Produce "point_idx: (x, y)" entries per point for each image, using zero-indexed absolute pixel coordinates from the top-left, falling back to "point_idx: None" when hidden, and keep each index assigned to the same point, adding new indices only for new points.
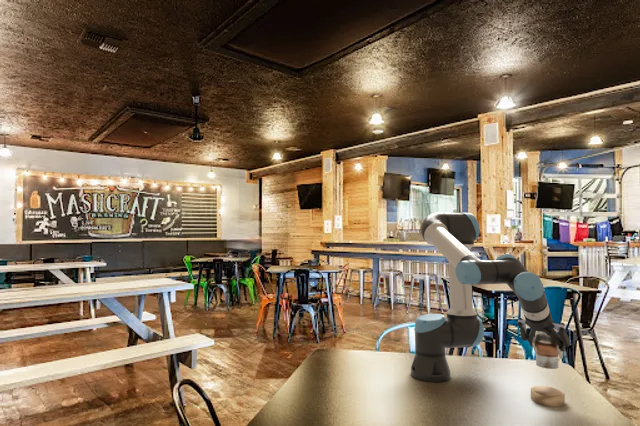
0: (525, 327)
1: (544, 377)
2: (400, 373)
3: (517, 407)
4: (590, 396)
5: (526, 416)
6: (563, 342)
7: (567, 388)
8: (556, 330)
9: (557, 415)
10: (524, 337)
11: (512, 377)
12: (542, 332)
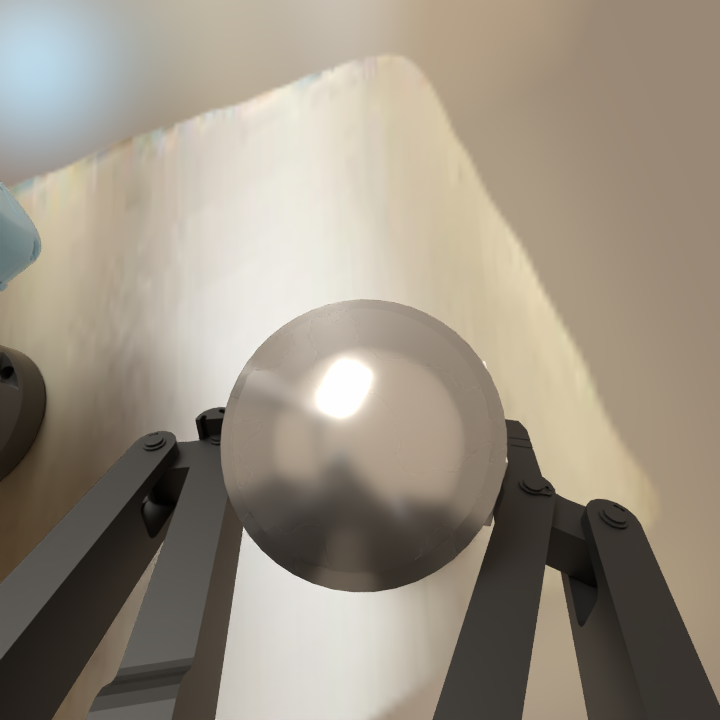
0: (57, 607)
1: (364, 216)
2: None
3: (288, 603)
4: (525, 321)
5: (325, 697)
6: (579, 648)
7: (444, 283)
8: (491, 414)
9: (435, 609)
10: (155, 540)
11: (260, 275)
12: (316, 577)
